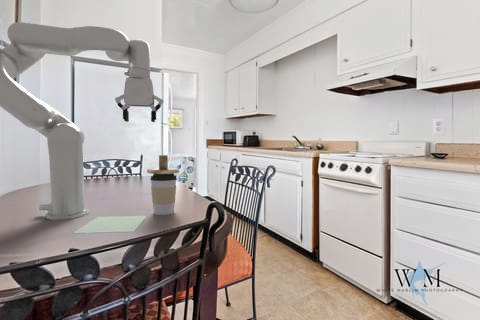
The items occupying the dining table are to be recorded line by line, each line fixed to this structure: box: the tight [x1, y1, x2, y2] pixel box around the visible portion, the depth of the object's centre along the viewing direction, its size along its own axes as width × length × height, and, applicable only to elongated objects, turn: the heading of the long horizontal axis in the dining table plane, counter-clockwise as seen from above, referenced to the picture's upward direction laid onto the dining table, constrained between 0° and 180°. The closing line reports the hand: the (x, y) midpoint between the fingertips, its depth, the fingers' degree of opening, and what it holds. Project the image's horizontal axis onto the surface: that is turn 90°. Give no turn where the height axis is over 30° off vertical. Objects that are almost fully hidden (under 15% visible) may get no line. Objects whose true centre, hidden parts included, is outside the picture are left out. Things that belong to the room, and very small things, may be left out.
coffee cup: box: [150, 173, 178, 216], centre depth 93 cm, size 9×9×15 cm
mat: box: [73, 215, 148, 234], centre depth 80 cm, size 16×16×1 cm
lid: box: [146, 154, 180, 175], centre depth 92 cm, size 11×11×6 cm
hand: (139, 121), depth 98 cm, fingers open, 9 cm apart
